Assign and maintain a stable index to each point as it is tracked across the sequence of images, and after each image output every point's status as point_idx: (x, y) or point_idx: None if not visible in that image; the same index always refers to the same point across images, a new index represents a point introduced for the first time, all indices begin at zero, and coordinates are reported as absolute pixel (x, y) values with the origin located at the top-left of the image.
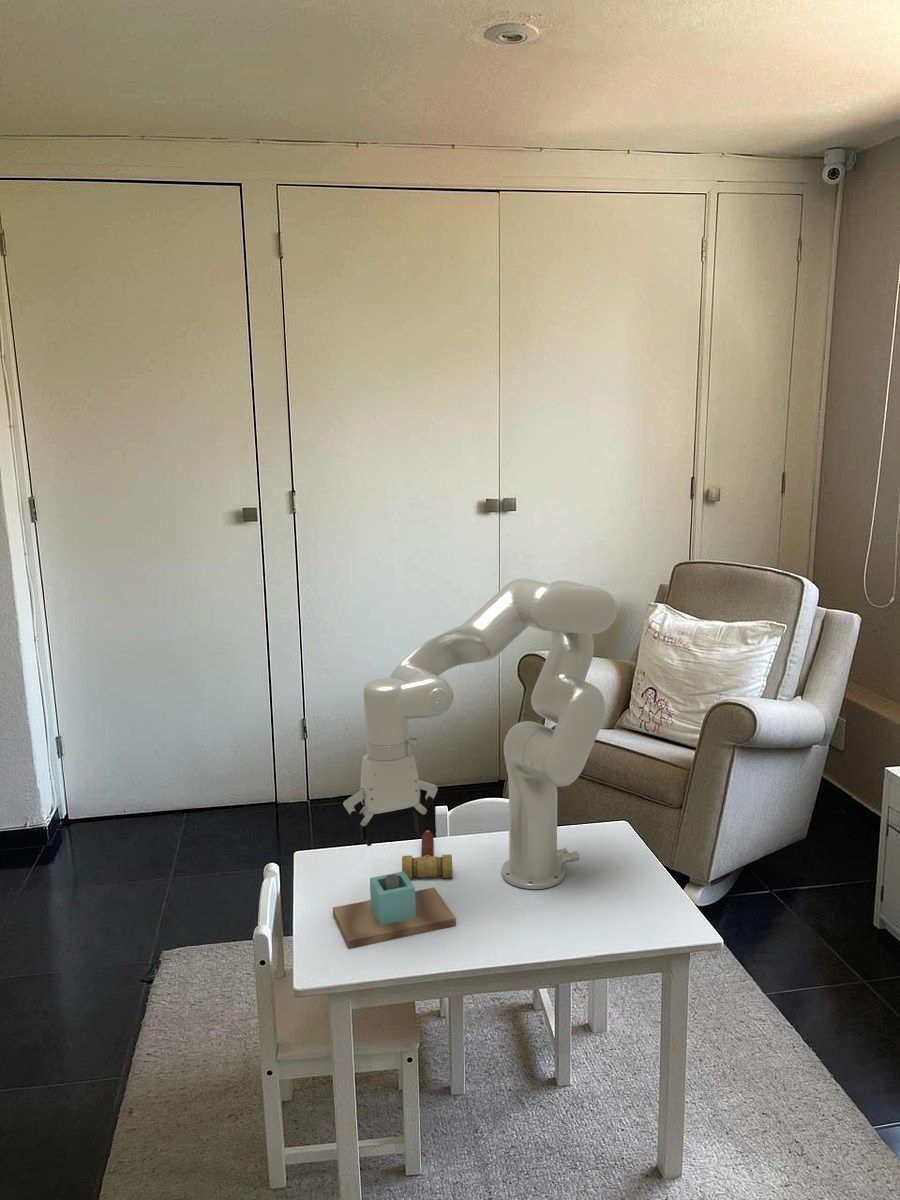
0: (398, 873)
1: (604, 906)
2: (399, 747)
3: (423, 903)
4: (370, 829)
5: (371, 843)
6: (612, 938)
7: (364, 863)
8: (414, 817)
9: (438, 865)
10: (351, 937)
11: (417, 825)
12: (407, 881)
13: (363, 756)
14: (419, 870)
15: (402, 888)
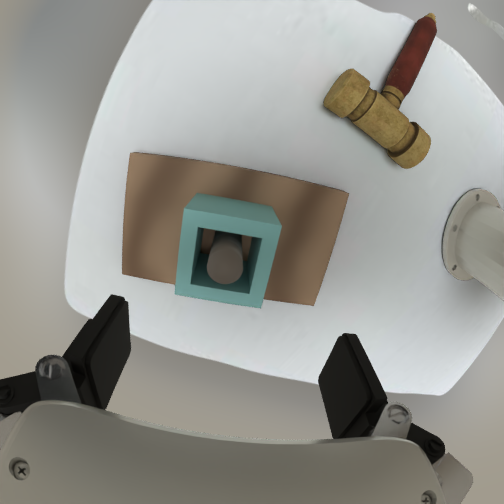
0: (263, 227)
1: (454, 334)
2: None
3: (297, 236)
4: (108, 400)
5: (127, 356)
6: (411, 380)
7: (285, 6)
8: (352, 381)
9: (395, 146)
10: (129, 268)
11: (330, 393)
12: (261, 276)
13: None
14: (358, 125)
15: (234, 297)
